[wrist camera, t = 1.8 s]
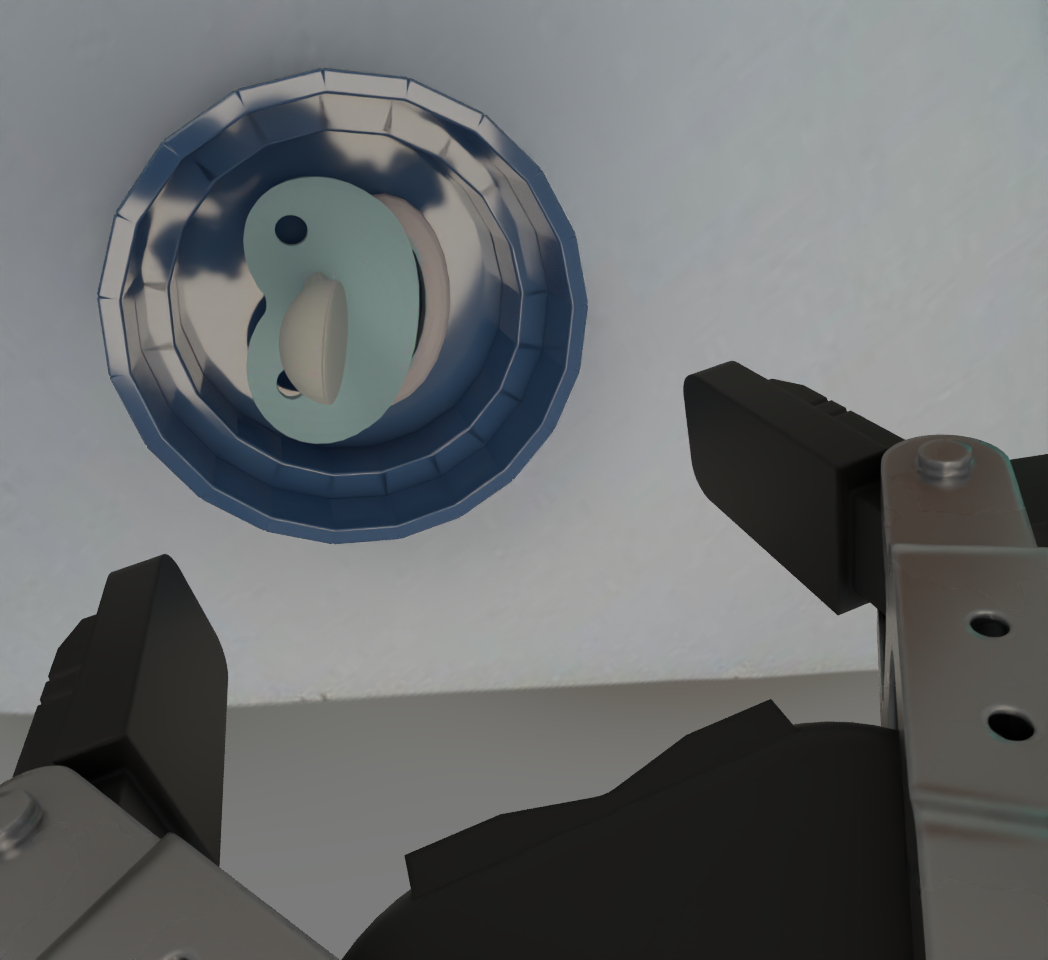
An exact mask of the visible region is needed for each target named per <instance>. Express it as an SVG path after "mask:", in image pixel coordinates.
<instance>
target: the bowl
mask: <svg viewBox="0 0 1048 960" xmlns="http://www.w3.org/2000/svg"><path fill="white" fill-rule="evenodd" d="M303 176H322V177H330V178H335V179H338V180H342V181H345V182H348V183H351V184H353V185H355V186H357V187H359V188H361V189H363V190H364V191H366V192H367V193H369V194H370V195H374V194H384V193H386V194H389V195H392V196H395V197H398V198H402V199H405V200H406V201H407V202H408V203H410V204H411V205H412V206H414V207H415V208H416V209H417V210H419V211H420V212H421V213H422V214H423V216H424V217H425V218H426V220H427V221H428V223H429V224H430V226H431V227H432V228H433V230H434V231H435V233H436V235H437V238H438V240H439V243H440V245H441V248H442V250H443V253H444V256H445V260H446V265H447V271H448V276H449V282H450V312H449V318H448V324H447V330H446V336H445V339H444V342H443V345H442V347H441V350H440V353H439V356H438V359H437V361H436V363H435V364H434V366H433V368H432V369H431V371H430V373H429V374H428V376H427V378H426V379H425V381H424V382H423V383H422V384H421V385H420V386H419V387H418V388H417V389H416V390H415V391H414V392H413V393H412V394H411V395H410V396H408V397H406V398H405V399H403V400H401V401H399V402H397V403H396V404H394V405H391V406H390V407H389V408H388V409H387V410H386V412H385V413H384V414H383V416H382V417H381V418H380V419H378V420H377V421H376V422H375V423H373V424H372V425H371V426H370V427H368V428H366V429H364V430H362V431H361V432H360V433H358V434H357V435H354V436H352V437H349V438H347V439H345V440H341V441H337V442H333V443H319V444H313V443H307V442H301V441H298V440H296V439H293V438H291V437H288V436H286V435H285V434H283V433H282V432H280V431H279V430H277V429H276V428H275V427H274V426H273V425H272V424H271V423H270V422H269V421H267V420H266V419H265V418H264V416H263V415H262V413H261V412H260V410H259V409H258V407H257V406H256V404H255V402H254V399H253V397H252V394H251V392H250V389H249V384H248V378H247V370H246V366H247V352H248V348H249V344H250V340H251V337H252V335H253V333H254V330H255V328H256V326H257V324H258V322H259V321H260V319H261V318H262V316H263V315H264V314H265V311H266V305H267V304H266V298H265V295H264V294H263V293H262V292H261V291H260V289H259V288H258V286H257V285H256V283H255V281H254V279H253V277H252V275H251V273H250V271H249V268H248V265H247V262H246V258H245V253H244V244H243V238H244V229H245V224H246V220H247V217H248V215H249V213H250V211H251V209H252V208H253V206H254V205H255V203H256V202H257V201H258V199H259V198H260V197H261V196H262V195H263V194H264V193H266V192H267V191H268V190H269V189H270V188H271V187H273V186H275V185H277V184H279V183H281V182H283V181H285V180H289V179H293V178H297V177H303ZM275 234H276V235H277V237H278V238H279V239H280V240H281V241H282V242H284V243H287V244H297V243H299V242H301V241H302V240H303V239H304V238H305V236H306V234H307V225H306V223H305V222H304V221H303V220H302V219H301V218H300V217H298V216H295V215H286V216H284V217H281V218H280V219H279V220H278V221H277V223H276V225H275ZM415 262H416V261H415ZM416 268H417V275H418V282H419V319H418V328H417V332H418V329H419V325H420V318H421V311H422V285H421V280H420V275H419V269H418V266H417V263H416ZM97 294H98V298H97V300H98V307H99V313H100V320H101V326H102V333H103V340H104V346H105V353H106V360H107V366H108V373H109V375H110V376H111V377H110V379H111V381H112V383H113V385H114V387H115V389H116V391H117V393H118V394H119V396H120V398H121V400H122V402H123V404H124V406H125V408H126V409H127V411H128V413H129V415H130V417H131V419H132V421H133V423H134V424H135V426H136V428H137V430H138V432H139V434H140V436H141V438H142V440H143V441H144V443H145V445H147V448H148V449H149V450H150V451H151V452H152V453H154V454H155V455H156V456H157V457H158V458H159V459H160V460H161V461H162V462H163V463H164V464H165V465H166V466H167V467H168V468H169V469H170V470H171V471H172V472H173V473H174V474H175V475H176V476H177V477H179V478H180V479H181V480H182V481H183V482H184V483H185V484H186V485H187V486H188V487H189V488H190V489H191V490H192V491H193V492H194V493H195V494H196V495H197V496H198V497H200V498H202V499H203V500H205V501H206V502H208V503H210V504H212V505H214V506H216V507H218V508H220V509H222V510H224V511H226V512H228V513H230V514H232V515H234V516H236V517H238V518H240V519H242V520H244V521H246V522H248V523H250V524H252V525H254V526H256V527H258V528H260V529H262V530H266V531H267V532H272V533H277V534H282V535H287V536H293V537H298V538H303V539H308V540H313V541H319V542H324V543H329V544H333V543H334V544H343V543H355V542H367V541H380V540H392V539H399V538H404V537H407V536H410V535H412V534H415V533H418V532H421V531H423V530H426V529H429V528H432V527H434V526H437V525H440V524H443V523H446V522H448V521H451V520H454V519H457V518H459V517H460V516H463V515H464V514H466V513H467V512H469V511H470V510H471V509H473V508H474V507H476V506H477V505H478V504H480V503H481V502H483V501H484V500H486V499H487V498H488V497H490V496H491V495H493V494H494V493H496V492H497V491H498V490H500V489H501V488H503V487H504V486H506V485H507V484H508V483H510V482H511V481H512V479H515V477H516V476H517V475H518V474H519V473H520V471H521V470H522V469H523V468H524V466H525V465H526V464H527V463H528V462H529V460H530V459H531V458H532V457H533V455H534V454H535V453H536V452H537V451H538V449H539V448H540V447H541V446H542V445H543V443H544V442H545V441H546V440H547V438H548V437H549V436H550V435H551V434H552V432H553V430H554V429H555V427H556V425H557V422H558V420H559V418H560V415H561V413H562V411H563V409H564V406H565V404H566V402H567V399H568V397H569V395H570V392H571V390H572V388H573V386H574V383H575V381H576V379H577V376H578V374H579V370H580V365H581V357H582V349H583V341H584V333H585V324H586V316H587V308H588V305H587V303H588V301H587V296H586V290H585V285H584V279H583V273H582V268H581V262H580V256H579V251H578V245H577V239H576V236H575V232H574V230H573V228H572V227H571V225H570V223H569V221H568V219H567V217H566V215H565V213H564V211H563V209H562V207H561V205H560V204H559V202H558V200H557V198H556V196H555V194H554V192H553V190H552V188H551V186H550V184H549V183H548V181H547V179H546V177H545V175H544V173H543V171H542V170H540V167H539V166H538V165H537V164H536V163H535V162H534V161H533V160H532V159H531V158H530V157H529V156H528V155H527V154H526V153H525V152H524V151H523V150H522V149H520V148H519V147H518V146H517V145H516V144H515V143H514V142H513V141H512V140H511V139H510V138H509V137H508V136H507V135H506V134H505V133H504V132H503V131H502V130H501V129H500V128H499V127H498V126H497V125H496V124H495V123H494V122H493V121H492V120H491V119H490V118H489V117H488V116H487V115H484V114H483V113H482V112H481V111H478V110H476V109H474V108H472V107H470V106H468V105H466V104H464V103H462V102H460V101H458V100H455V99H453V98H451V97H449V96H447V95H445V94H443V93H441V92H439V91H437V90H435V89H433V88H430V87H428V86H426V85H424V84H422V83H420V82H418V81H416V80H414V79H412V78H407V77H402V76H393V75H384V74H375V73H365V72H356V71H347V70H338V69H328V68H324V69H315V70H311V71H307V72H303V73H300V74H296V75H292V76H288V77H284V78H280V79H276V80H272V81H268V82H264V83H260V84H256V85H252V86H248V87H244V88H240V89H238V90H237V91H233V92H231V93H230V94H228V95H227V96H226V97H224V98H223V99H221V100H220V101H218V102H217V103H216V104H214V105H213V106H211V107H210V108H208V109H207V110H206V111H204V112H203V113H201V114H200V115H198V116H197V117H196V118H194V119H193V120H191V121H190V122H188V123H187V124H186V125H184V126H183V127H181V128H180V129H178V130H177V131H176V132H174V133H173V134H171V135H170V136H169V137H167V138H166V139H165V140H164V142H162V143H161V144H160V145H159V147H158V148H157V150H156V152H155V153H154V155H153V156H152V158H151V159H150V161H149V162H148V164H147V165H146V167H145V168H144V170H143V171H142V173H141V174H140V176H139V177H138V179H137V180H136V182H135V183H134V185H133V186H132V188H131V189H130V191H129V192H128V194H127V195H126V197H125V198H124V200H123V201H122V203H121V204H120V206H119V207H118V209H117V210H116V214H115V215H114V218H113V223H112V228H111V232H110V237H109V242H108V246H107V251H106V256H105V260H104V265H103V270H102V274H101V279H100V284H99V288H98V293H97ZM276 383H277V387H278V389H279V390H280V391H281V392H282V393H283V394H285V395H287V396H296V395H298V394H300V392H299V391H298V390H297V389H296V388H295V387H294V385H293V384H292V383H291V381H290V380H289V378H288V377H287V375H286V373H285V370H283V371H282V372H281V373H280V374H279V375H278V378H277V382H276Z"/></svg>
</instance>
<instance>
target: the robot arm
mask: <svg viewBox="0 0 1048 960" xmlns="http://www.w3.org/2000/svg"><path fill="white" fill-rule="evenodd" d="M683 392H684V401H685V410H686V418H687V426H688V435H689V443H690V452H691V460H692V466H693V470H694V474H695V476H696V479H697V481H698V484H699V486H700V488H701V489H702V491H703V492H704V494H705V495H706V497H707V498H708V499H709V500H710V501H711V502H712V503H714V504H715V505H716V506H717V507H718V508H719V509H720V510H721V511H722V512H724V513H725V514H726V515H727V516H728V517H729V518H730V519H731V520H732V521H734V522H735V523H736V524H737V525H738V526H739V527H740V528H741V529H742V530H744V531H745V532H746V533H747V534H748V535H749V536H750V537H751V538H752V539H754V540H755V541H756V542H757V543H758V544H759V545H760V546H761V547H762V548H764V549H765V550H766V551H767V552H768V553H769V554H770V555H771V556H772V557H774V558H775V559H776V560H777V561H778V562H779V563H780V564H781V565H782V566H784V567H785V568H786V569H787V570H788V571H789V572H790V573H791V574H792V575H794V576H795V577H796V578H797V579H798V580H799V581H800V582H801V583H802V584H804V585H805V586H806V587H807V588H808V589H809V590H810V591H811V592H812V593H814V594H815V595H816V596H817V597H818V598H819V599H820V600H821V601H822V602H824V603H825V604H826V605H827V606H828V607H829V608H830V609H831V610H832V611H834V612H835V613H836V614H837V615H840V614H843V613H845V612H848V611H850V610H852V609H855V608H857V607H860V606H862V605H864V604H867V603H869V602H870V603H871V604H873V605H874V606H875V607H876V608H877V644H878V667H879V687H880V688H879V689H880V711H881V727H880V726H876V725H868V724H860V723H853V722H815V723H801V724H795V725H793V724H792V723H791V722H790V721H789V720H788V719H787V717H786V716H785V715H784V714H783V713H782V712H781V710H780V709H779V708H778V707H777V706H776V704H775V703H774V702H773V701H772V700H771V699H770V700H767V701H765V702H763V703H760V704H758V705H756V706H753V707H751V708H749V709H747V710H744V711H742V712H739V713H737V714H735V715H732V716H730V717H728V718H725V719H723V720H721V721H718V722H716V723H714V724H711V725H709V726H706V727H704V728H702V729H699V730H697V731H695V732H692V733H690V734H688V735H686V736H685V737H683V738H682V739H681V740H679V741H678V742H676V743H675V744H674V745H672V746H671V747H670V748H668V749H667V750H666V751H664V752H663V753H662V754H661V755H659V756H658V757H656V758H655V759H654V760H652V761H651V762H650V763H648V764H647V765H646V766H645V767H643V768H642V769H640V770H639V771H638V772H636V773H635V774H634V775H632V776H631V777H630V778H628V779H627V780H626V781H624V782H623V783H622V784H620V785H619V786H618V787H616V788H615V789H613V790H612V791H610V792H609V793H606V794H604V795H601V796H598V797H594V798H588V799H583V800H577V801H572V802H566V803H561V804H555V805H549V806H545V807H539V808H533V809H527V810H522V811H517V812H511V813H506V814H500V815H498V816H495V817H493V818H491V819H489V820H486V821H484V822H481V823H479V824H477V825H475V826H472V827H470V828H467V829H465V830H463V831H460V832H458V833H456V834H454V835H451V836H449V837H446V838H444V839H442V840H439V841H437V842H435V843H432V844H430V845H427V846H425V847H423V848H420V849H419V850H416V851H413V852H411V853H409V854H406V855H405V860H406V865H407V871H408V876H409V881H410V886H411V890H409V891H408V892H406V893H405V894H404V895H402V896H401V897H400V898H399V899H397V900H396V901H395V902H394V903H393V904H391V905H390V906H389V907H388V908H387V909H386V910H385V911H384V912H383V913H381V914H380V915H379V916H378V917H377V918H376V919H375V920H374V921H373V923H371V925H370V926H369V927H368V928H367V929H366V930H365V931H364V932H363V933H362V934H361V936H360V937H359V938H358V939H357V940H356V942H354V944H353V945H352V947H351V948H350V949H349V950H348V952H347V953H346V954H345V956H344V957H343V958H342V960H1048V454H1045V455H1038V456H1032V457H1025V458H1019V459H1012V460H1009V458H1008V457H1007V455H1006V454H1005V453H1004V452H1003V451H1001V450H1000V449H998V448H997V447H995V446H993V445H991V444H989V443H986V442H984V441H981V440H978V439H974V438H970V437H964V436H957V435H927V436H920V437H915V438H911V439H907V440H904V439H903V438H901V437H899V436H897V435H895V434H893V433H891V432H890V431H888V430H886V429H884V428H882V427H880V426H878V425H877V424H875V423H873V422H871V421H869V420H867V419H865V418H864V417H862V416H860V415H858V414H856V413H854V412H852V411H848V412H847V411H846V408H845V407H843V406H841V405H839V404H837V403H836V402H834V401H832V400H831V401H828V400H827V398H826V397H824V396H823V395H821V394H819V393H817V392H815V391H813V390H811V389H810V388H808V387H806V386H804V385H800V384H795V383H790V382H785V381H781V380H776V379H770V380H767V379H766V378H764V377H762V376H760V375H759V374H757V373H755V372H753V371H751V370H750V369H748V368H746V367H744V366H743V365H741V364H739V363H737V362H735V361H729V362H726V363H723V364H720V365H717V366H714V367H712V368H709V369H706V370H703V371H700V372H697V373H694V374H691V375H688V376H687V377H686V379H685V381H684V387H683ZM48 677H49V680H50V681H48V682H46V684H45V687H44V690H43V692H42V695H41V698H40V701H41V705H38V707H37V709H36V712H35V715H34V718H33V721H32V724H31V726H30V729H29V733H28V735H27V738H26V741H25V743H24V746H23V749H22V752H21V755H20V757H19V760H18V763H17V766H16V769H15V772H14V775H13V778H11V779H9V780H7V781H6V782H4V783H2V784H1V785H0V960H339V959H338V958H337V957H335V956H334V955H333V954H331V953H330V952H329V951H328V950H326V949H325V948H324V947H322V946H321V945H320V944H318V943H317V942H316V941H314V940H313V939H312V938H311V937H309V936H308V935H307V934H305V933H304V932H303V931H302V930H300V929H299V928H298V927H296V926H295V925H294V924H292V923H291V922H290V921H288V920H287V919H286V918H284V917H283V916H282V915H281V914H279V913H278V912H277V911H276V910H274V909H273V908H272V907H270V906H269V905H268V904H266V903H265V902H264V901H262V900H261V899H260V898H259V897H257V896H256V895H254V894H253V893H252V892H251V891H249V890H248V889H247V888H245V887H244V886H243V885H242V884H240V883H239V882H238V881H237V880H235V879H234V878H232V877H231V876H230V875H229V874H227V873H226V872H225V871H224V870H222V869H221V868H220V867H219V864H220V842H221V840H220V839H221V820H222V798H223V777H224V776H223V775H224V754H225V733H226V711H227V690H228V670H227V664H226V659H225V656H224V652H223V649H222V646H221V644H220V641H219V639H218V637H217V635H216V633H215V631H214V629H213V628H212V626H211V624H210V622H209V620H208V619H207V617H206V615H205V613H204V612H203V610H202V608H201V606H200V604H199V603H198V601H197V599H196V597H195V595H194V594H193V592H192V590H191V588H190V586H189V585H188V583H187V581H186V579H185V578H184V576H183V574H182V572H181V570H180V569H179V567H178V565H177V564H176V562H175V561H174V560H173V559H172V558H171V557H170V556H169V555H167V554H163V555H160V556H157V557H154V558H152V559H149V560H146V561H143V562H140V563H137V564H134V565H131V566H128V567H125V568H122V569H120V570H117V571H114V572H111V573H110V574H109V576H108V578H107V581H106V585H105V588H104V591H103V594H102V598H101V601H100V604H99V608H98V611H97V614H96V615H93V616H90V617H87V618H85V619H82V620H81V621H80V622H79V624H78V625H77V626H76V627H75V629H74V630H73V631H72V632H71V633H70V635H69V636H68V637H67V638H66V639H65V641H64V642H63V643H62V644H61V646H60V647H59V648H58V650H57V653H56V656H55V658H54V661H53V664H52V667H51V670H50V673H49V675H48Z"/></svg>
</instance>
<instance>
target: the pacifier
mask: <svg viewBox="0 0 1048 960" xmlns="http://www.w3.org/2000/svg"><path fill="white" fill-rule="evenodd" d="M286 215H295V216H298V217H300V218H301V219H302V220H303V221H304V222H305V223H306V225H307V234H306V236H305V238H304V239H303V240H302V241H301V242H299V243H297V244H287V243H284V242H282V241H281V240H280V239H279V238H278V237H277V235H276V234H275V225H276V223H277V221H278V220H279V219H280V218H281V217H284V216H286ZM243 244H244V253H245V258H246V262H247V265H248V268H249V271H250V273H251V275H252V277H253V279H254V281H255V283H256V285H257V286H258V288H259V289H260V291H261V292H262V293H263V294H264V295H265V298H266V304H267V305H266V311H265V314H264V315H263V316H262V318H261V319H260V321H259V322H258V324H257V326H256V328H255V330H254V333H253V335H252V337H251V340H250V344H249V348H248V352H247V366H246V370H247V378H248V384H249V389H250V392H251V394H252V397H253V399H254V402H255V404H256V406H257V407H258V409H259V410H260V412H261V413H262V415H263V416H264V418H265V419H266V420H267V421H269V422H270V423H271V424H272V425H273V426H274V427H275V428H276V429H277V430H279V431H280V432H282V433H283V434H285V435H286V436H288V437H291V438H293V439H296V440H298V441H301V442H307V443H313V444H319V443H333V442H337V441H341V440H345V439H347V438H349V437H352V436H354V435H357V434H358V433H360V432H361V431H362V430H364V429H366V428H368V427H370V426H371V425H372V424H373V423H375V422H376V421H377V420H378V419H380V418H381V417H382V416H383V414H384V413H385V412H386V410H387V409H388V408H389V407H390V406H391V405H394V404H396V403H397V402H399V401H401V400H403V399H405V398H406V397H408V396H410V395H411V394H412V393H413V392H414V391H415V390H416V389H417V388H418V387H419V386H420V385H421V384H422V383H423V382H424V381H425V379H426V378H427V376H428V374H429V373H430V371H431V369H432V368H433V366H434V364H435V363H436V361H437V359H438V356H439V353H440V350H441V347H442V345H443V342H444V339H445V336H446V330H447V324H448V318H449V312H450V282H449V276H448V271H447V265H446V260H445V256H444V253H443V250H442V248H441V245H440V243H439V240H438V238H437V235H436V233H435V231H434V230H433V228H432V227H431V226H430V224H429V223H428V221H427V220H426V218H425V217H424V216H423V214H422V213H421V212H420V211H419V210H417V209H416V208H415V207H414V206H412V205H411V204H410V203H408V202H407V201H406V200H405V199H402V198H398V197H395V196H392V195H389V194H386V193H384V194H374V195H370V194H369V193H367V192H366V191H364V190H363V189H361V188H359V187H357V186H355V185H353V184H351V183H348V182H345V181H342V180H338V179H335V178H330V177H322V176H303V177H297V178H293V179H289V180H285V181H283V182H281V183H279V184H277V185H275V186H273V187H271V188H270V189H269V190H268V191H267V192H266V193H264V194H263V195H262V196H261V197H260V198H259V199H258V201H257V202H256V203H255V205H254V206H253V208H252V209H251V211H250V213H249V215H248V217H247V220H246V224H245V229H244V238H243ZM415 261H416V262H415ZM416 263H417V266H418V269H419V275H420V280H421V285H422V311H421V318H420V325H419V329H418V332H417V328H418V319H419V282H418V275H417V268H416ZM283 370H285V373H286V375H287V377H288V378H289V380H290V381H291V383H292V384H293V385H294V387H295V388H296V389H297V390H298V391H299V392H300V394H298V395H296V396H287V395H285V394H283V393H282V392H281V391H280V390H279V389H278V387H277V383H276V382H277V378H278V375H279V374H280V373H281V372H282V371H283Z"/></svg>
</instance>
